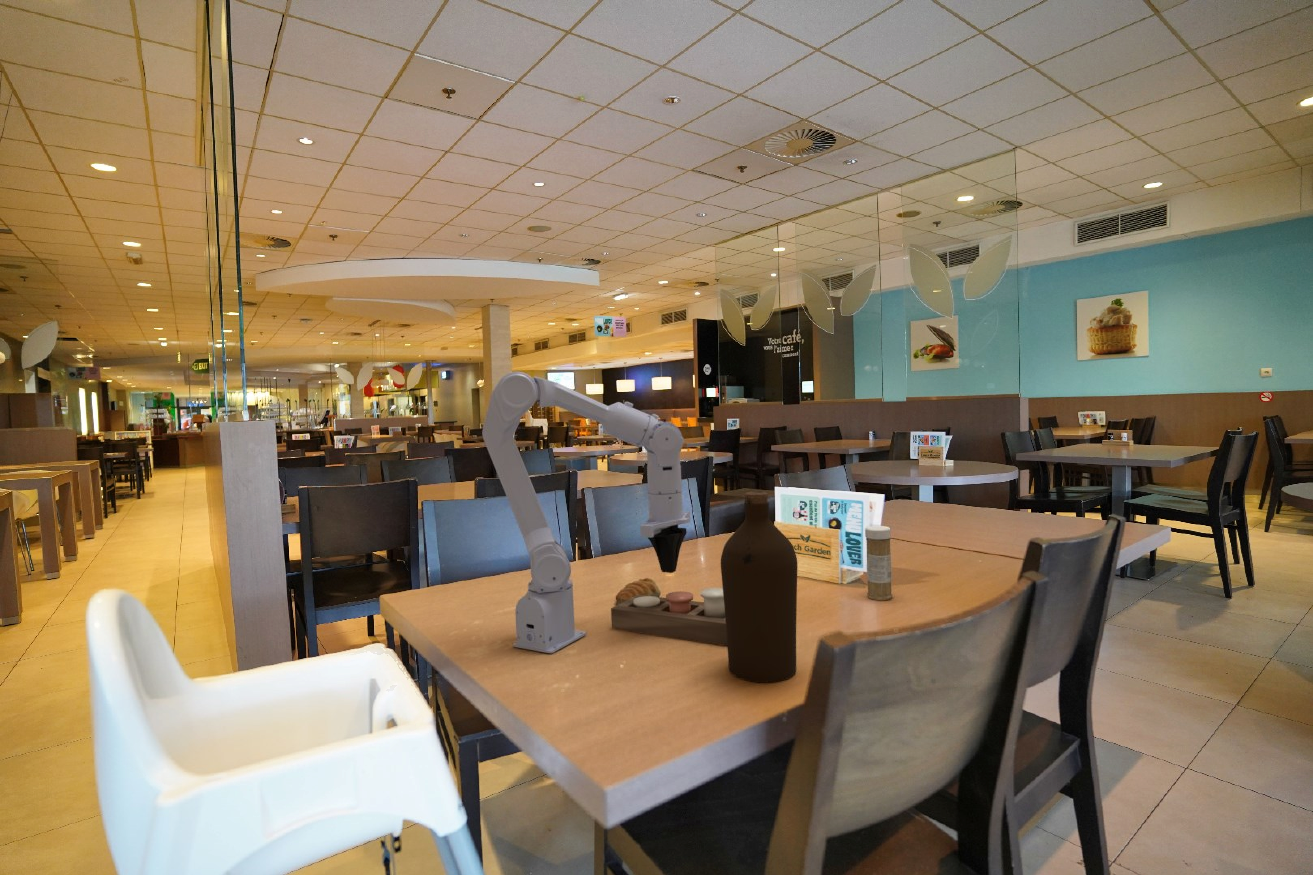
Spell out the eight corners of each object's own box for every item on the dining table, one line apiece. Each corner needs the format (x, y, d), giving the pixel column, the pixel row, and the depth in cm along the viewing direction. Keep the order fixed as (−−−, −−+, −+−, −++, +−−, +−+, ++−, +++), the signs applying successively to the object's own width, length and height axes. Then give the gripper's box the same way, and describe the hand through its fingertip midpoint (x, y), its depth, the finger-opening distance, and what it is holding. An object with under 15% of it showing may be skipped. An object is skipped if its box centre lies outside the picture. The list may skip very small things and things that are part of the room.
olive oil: (811, 681, 88) (805, 495, 87) (733, 688, 87) (726, 499, 86) (787, 652, 98) (782, 486, 97) (718, 658, 97) (711, 490, 96)
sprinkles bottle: (875, 592, 127) (873, 524, 127) (897, 597, 124) (895, 526, 123) (862, 597, 124) (860, 527, 124) (883, 602, 121) (881, 530, 120)
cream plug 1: (652, 628, 111) (651, 605, 111) (629, 625, 113) (628, 602, 113) (665, 620, 115) (664, 597, 115) (642, 617, 117) (641, 595, 117)
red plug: (686, 624, 108) (685, 600, 108) (662, 620, 110) (661, 597, 110) (698, 616, 112) (697, 592, 112) (674, 613, 114) (673, 590, 114)
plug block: (730, 646, 102) (730, 624, 102) (611, 628, 112) (610, 608, 112) (751, 628, 110) (750, 607, 109) (638, 613, 120) (637, 594, 120)
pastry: (634, 610, 123) (632, 590, 123) (606, 605, 127) (605, 586, 127) (663, 597, 131) (662, 578, 130) (636, 593, 135) (635, 575, 134)
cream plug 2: (722, 621, 105) (721, 596, 104) (696, 617, 107) (695, 593, 107) (733, 613, 109) (732, 589, 108) (708, 609, 111) (707, 586, 111)
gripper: (666, 498, 103) (670, 584, 103) (704, 487, 116) (707, 563, 116) (627, 497, 106) (631, 580, 107) (668, 486, 119) (672, 560, 120)
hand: (668, 571), depth 112 cm, fingers closed
